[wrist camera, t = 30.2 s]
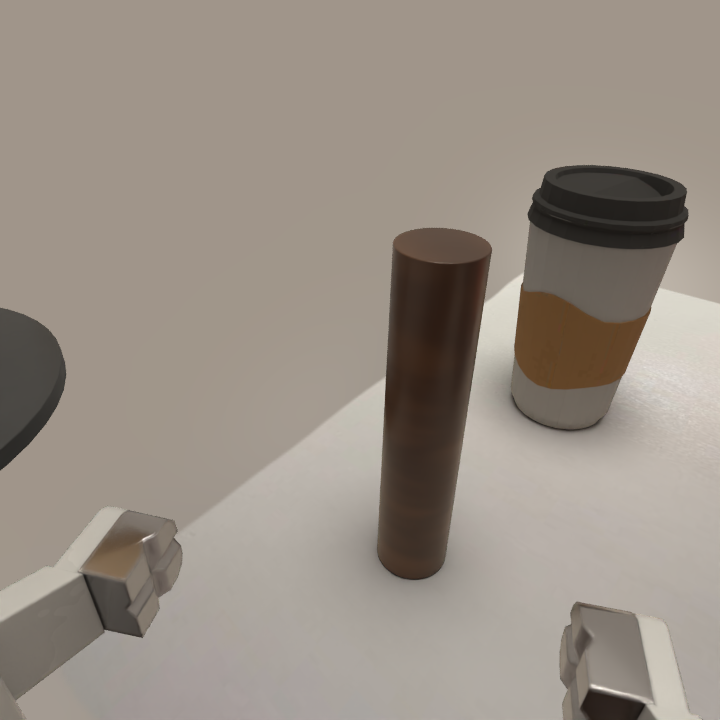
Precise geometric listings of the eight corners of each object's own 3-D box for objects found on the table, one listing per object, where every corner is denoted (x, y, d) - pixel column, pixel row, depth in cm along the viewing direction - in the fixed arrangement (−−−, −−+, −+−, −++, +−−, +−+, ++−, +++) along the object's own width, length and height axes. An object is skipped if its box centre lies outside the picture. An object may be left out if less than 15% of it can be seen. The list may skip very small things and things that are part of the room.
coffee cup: (644, 406, 38) (723, 185, 30) (580, 461, 34) (655, 216, 26) (538, 357, 44) (582, 156, 36) (470, 398, 39) (504, 178, 31)
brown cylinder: (389, 586, 26) (412, 267, 18) (369, 530, 29) (380, 231, 20) (456, 571, 27) (509, 258, 18) (430, 518, 30) (466, 224, 21)
